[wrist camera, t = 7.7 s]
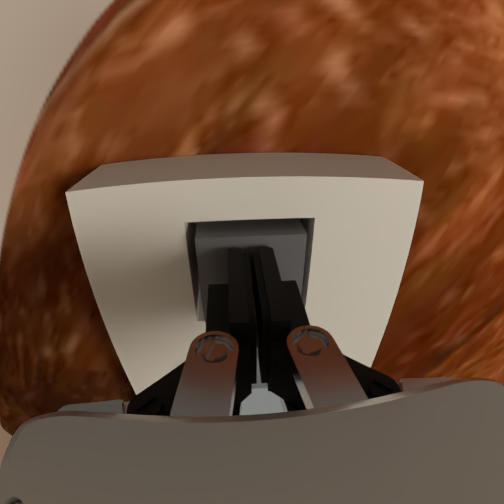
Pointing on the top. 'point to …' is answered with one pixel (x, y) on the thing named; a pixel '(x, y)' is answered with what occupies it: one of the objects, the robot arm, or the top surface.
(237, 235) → the charcoal button
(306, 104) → the top surface
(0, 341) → the top surface
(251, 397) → the slate button
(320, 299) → the button panel
